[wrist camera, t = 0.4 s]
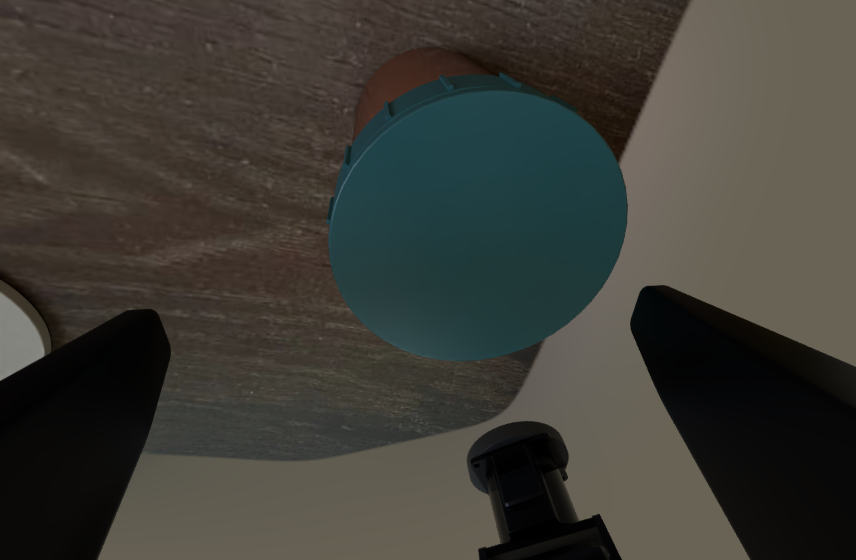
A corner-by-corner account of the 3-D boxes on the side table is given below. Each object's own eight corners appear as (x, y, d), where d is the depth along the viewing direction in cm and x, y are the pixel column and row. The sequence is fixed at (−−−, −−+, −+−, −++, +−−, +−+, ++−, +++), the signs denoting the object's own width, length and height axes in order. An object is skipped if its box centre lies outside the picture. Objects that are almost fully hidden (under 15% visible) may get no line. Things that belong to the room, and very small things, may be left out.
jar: (519, 164, 19) (625, 286, 11) (394, 220, 20) (411, 371, 12) (472, 17, 16) (574, 43, 8) (326, 90, 17) (287, 180, 9)
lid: (613, 263, 13) (648, 302, 11) (402, 348, 14) (407, 395, 12) (558, 15, 9) (598, 21, 8) (278, 151, 10) (261, 182, 8)
